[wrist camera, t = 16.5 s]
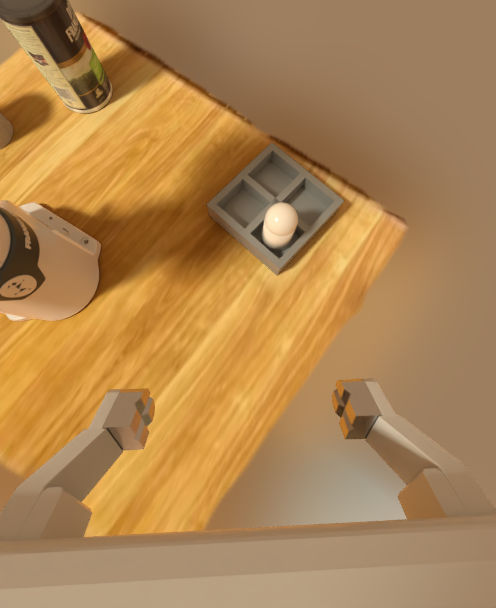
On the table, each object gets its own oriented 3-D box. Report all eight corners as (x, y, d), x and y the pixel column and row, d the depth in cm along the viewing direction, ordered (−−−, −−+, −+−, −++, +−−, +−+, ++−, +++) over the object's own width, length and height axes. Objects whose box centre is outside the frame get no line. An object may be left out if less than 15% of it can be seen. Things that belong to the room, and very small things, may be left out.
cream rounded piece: (255, 239, 42) (258, 211, 33) (274, 220, 42) (282, 188, 33) (276, 258, 41) (285, 235, 32) (295, 238, 42) (309, 210, 33)
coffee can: (112, 69, 48) (58, -42, 34) (114, 111, 47) (58, 13, 33) (61, 73, 48) (-14, -37, 34) (61, 116, 46) (-18, 19, 32)
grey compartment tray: (209, 215, 43) (206, 204, 40) (269, 157, 45) (271, 141, 42) (277, 275, 42) (280, 269, 38) (336, 211, 44) (344, 200, 40)
